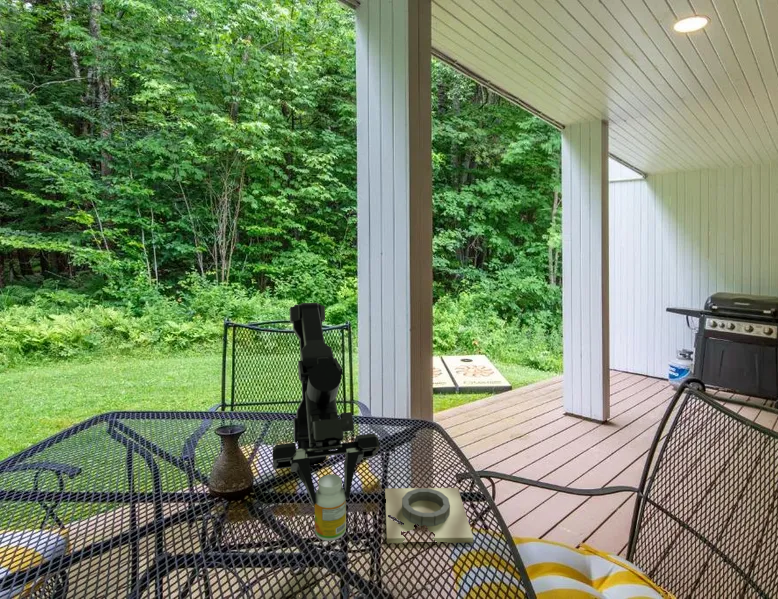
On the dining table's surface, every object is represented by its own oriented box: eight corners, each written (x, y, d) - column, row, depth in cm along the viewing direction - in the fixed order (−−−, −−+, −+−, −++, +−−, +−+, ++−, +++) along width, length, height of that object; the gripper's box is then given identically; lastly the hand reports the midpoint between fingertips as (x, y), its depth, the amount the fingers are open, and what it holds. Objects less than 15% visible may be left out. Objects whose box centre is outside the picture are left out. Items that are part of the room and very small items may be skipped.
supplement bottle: (316, 521, 81) (315, 472, 79) (346, 520, 82) (345, 471, 80) (313, 542, 76) (312, 490, 74) (345, 541, 76) (345, 489, 75)
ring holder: (386, 543, 83) (387, 528, 82) (385, 492, 98) (385, 480, 98) (473, 542, 83) (473, 527, 83) (457, 492, 99) (458, 479, 98)
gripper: (271, 401, 76) (274, 499, 67) (377, 391, 81) (393, 481, 72) (271, 425, 85) (274, 514, 76) (367, 415, 90) (381, 497, 81)
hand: (331, 501), depth 76 cm, fingers closed on supplement bottle, 5 cm apart
